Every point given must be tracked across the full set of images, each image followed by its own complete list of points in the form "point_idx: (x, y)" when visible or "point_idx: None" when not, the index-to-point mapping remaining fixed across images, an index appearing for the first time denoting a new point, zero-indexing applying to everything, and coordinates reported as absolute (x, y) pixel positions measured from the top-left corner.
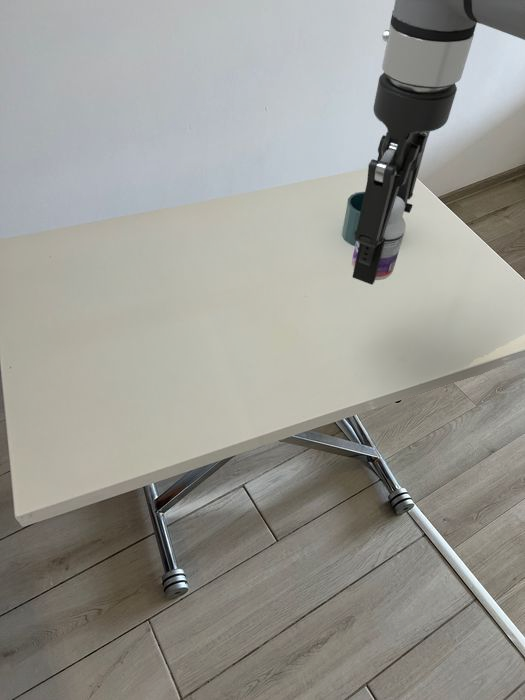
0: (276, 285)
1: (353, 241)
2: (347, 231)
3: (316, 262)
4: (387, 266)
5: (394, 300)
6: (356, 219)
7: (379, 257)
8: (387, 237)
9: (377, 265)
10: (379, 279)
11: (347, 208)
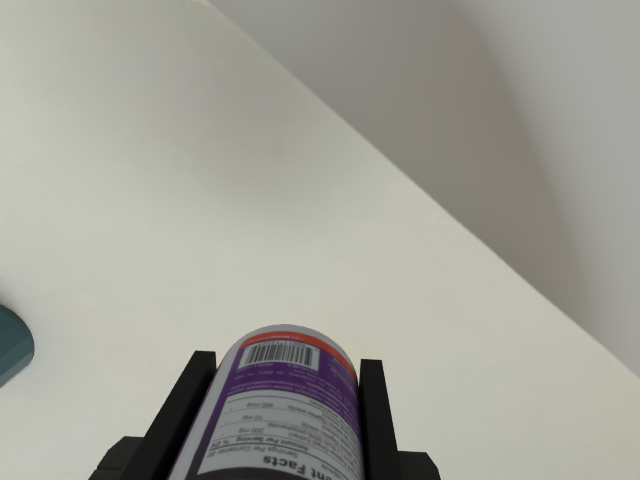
0: None
1: (26, 349)
2: (13, 374)
3: (129, 380)
4: (328, 372)
5: (129, 217)
6: None
7: (395, 458)
8: None
9: (386, 421)
10: (342, 349)
11: None
